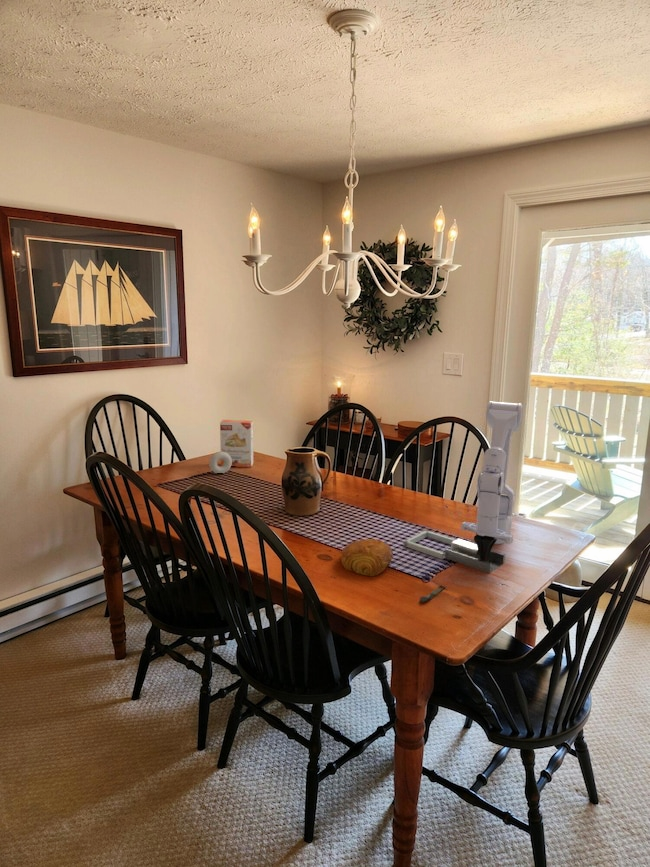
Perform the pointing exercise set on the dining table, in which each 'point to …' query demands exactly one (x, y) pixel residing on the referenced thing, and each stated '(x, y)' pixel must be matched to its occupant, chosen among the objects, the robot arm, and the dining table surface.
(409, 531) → the dining table surface
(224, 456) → the donut
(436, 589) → the tactical tomahawk
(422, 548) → the tray
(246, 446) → the cracker box
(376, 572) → the croissant
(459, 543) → the beige cube
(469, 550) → the cream cube
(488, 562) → the rail
